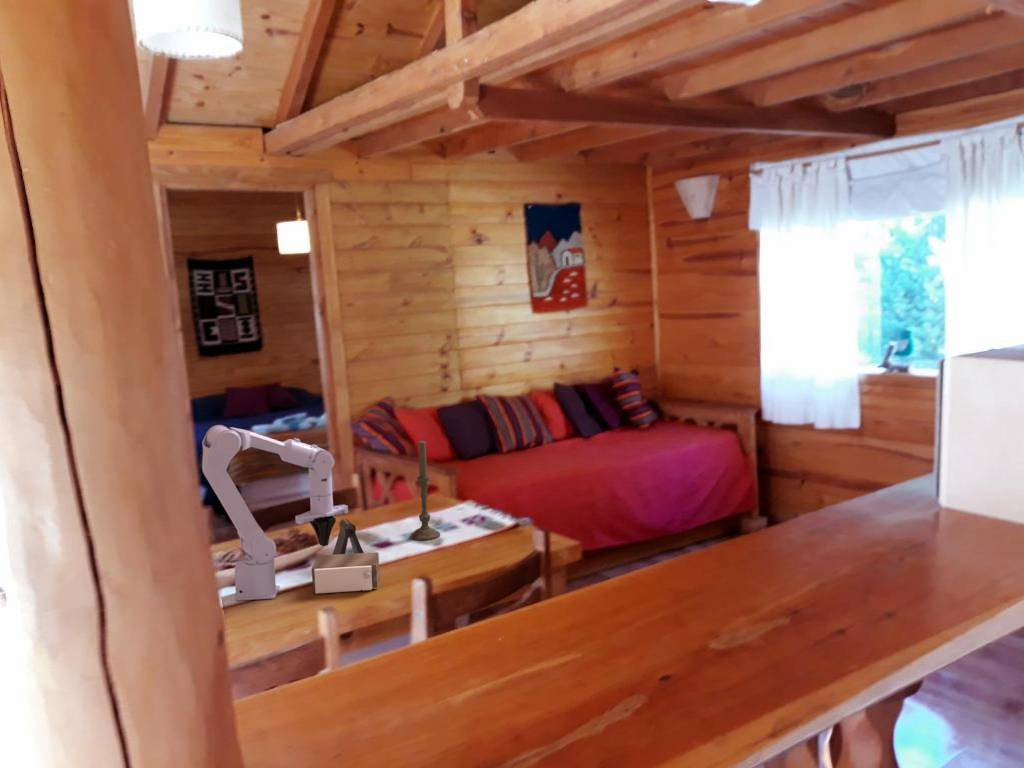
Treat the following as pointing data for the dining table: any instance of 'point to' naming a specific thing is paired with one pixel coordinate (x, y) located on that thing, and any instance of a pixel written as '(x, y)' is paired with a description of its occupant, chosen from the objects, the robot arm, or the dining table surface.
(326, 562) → the cabinet
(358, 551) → the dark grey a-frame stand
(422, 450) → the candlestick holder
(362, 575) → the door
